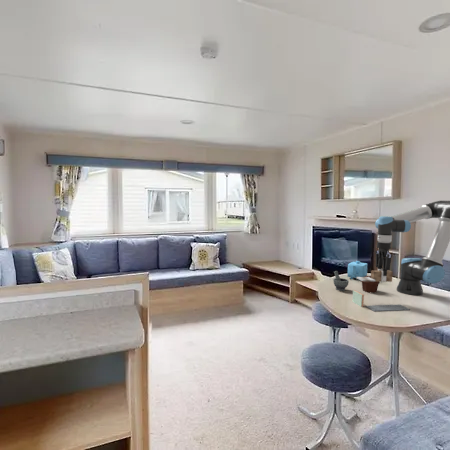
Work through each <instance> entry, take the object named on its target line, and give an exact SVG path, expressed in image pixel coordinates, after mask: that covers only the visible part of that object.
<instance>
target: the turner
mask: <svg viewBox="0 0 450 450" xmlns="http://www.w3.org/2000/svg"><path fill="white" fill-rule="evenodd" d="M381 275H382V271H378V270H371V271H370V276H371V278H370V277H357V278H356V279H357V280H358V281H360V282H361V281H379V282H380V283H381V282H383V283H384V282H385V283H386V282H390V283H393V275H394V272H393V271H391V270H387V276H386V281H381Z"/></svg>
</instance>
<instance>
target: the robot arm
mask: <svg viewBox="0 0 450 450" xmlns="http://www.w3.org/2000/svg"><path fill="white" fill-rule="evenodd" d="M430 219H438V221H439V223H438V224H437V225H438V226H437V228H436V231H435V233H434V235H433V238H432V240H431V243H430V245H429V249H428V251H427V253H426V256H424V257H422V258H418V257H417V258H416V257H414V258H413V257H404V258H401V263H400V279H399V281H398V285H397V286H396V291H397V292H398V293H400V294H406V295H409V296H410V295H412V296H423V293H424V290H423V286H422V283H421V281H422V282H426V283H428V284H438V283H441V281H442V280H443V279H444V278H445V274H446V273H445V269H444V263H443V259H444V256H445V255H446V252H447V249H448V246H449V244H450V200H436V201H433V202H430V203H426V204H422V205H421V206H420V207H417V208H416V209H411V210H409V211H408V210H407V211H405V212H403V213H399V214H396V215H392V216H389V215H388V216H386V215H385V216H383V215H381V216H379V217H378V218H377V219H376V221H375V224H374V225H375V228H376V229H377V242H376V247H377V249H378V250H375V251H374V253H375V268H377V271H382V275H381V281H386V276H387V271H391V270H390V269H391V265H392V264H391V262H392V257H393V254H391V253H390V249H392V239H393V235H392V234H393V233H408V232H409V231H411V228H412V224H411V223H415V222H418V221H421V220H430Z"/></svg>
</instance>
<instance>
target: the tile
mask: <svg viewBox="0 0 450 450" xmlns="http://www.w3.org/2000/svg"><path fill="white" fill-rule="evenodd" d="M364 300H365V294H363V293H361V292H359V291H357V290H352V300H351V301H352V303H354V304H355V305H357V306H358V307H360V308H363V307H364V302H365V301H364Z"/></svg>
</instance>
